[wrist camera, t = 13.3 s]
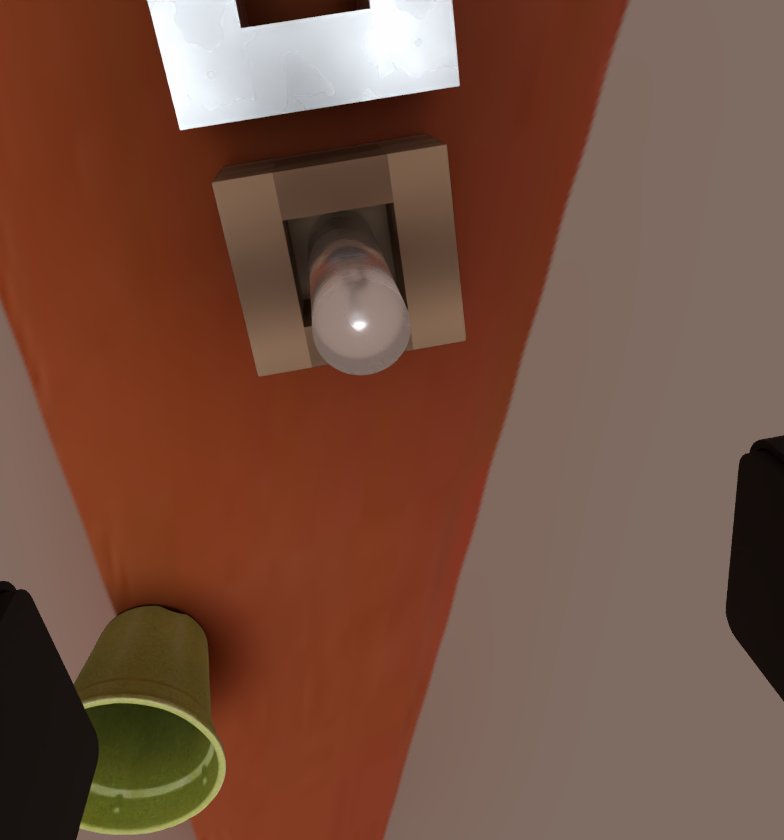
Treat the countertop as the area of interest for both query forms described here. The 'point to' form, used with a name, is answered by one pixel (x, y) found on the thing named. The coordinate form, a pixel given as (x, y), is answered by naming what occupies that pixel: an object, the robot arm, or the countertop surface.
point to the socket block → (299, 57)
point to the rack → (332, 192)
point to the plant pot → (150, 723)
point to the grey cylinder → (354, 297)
